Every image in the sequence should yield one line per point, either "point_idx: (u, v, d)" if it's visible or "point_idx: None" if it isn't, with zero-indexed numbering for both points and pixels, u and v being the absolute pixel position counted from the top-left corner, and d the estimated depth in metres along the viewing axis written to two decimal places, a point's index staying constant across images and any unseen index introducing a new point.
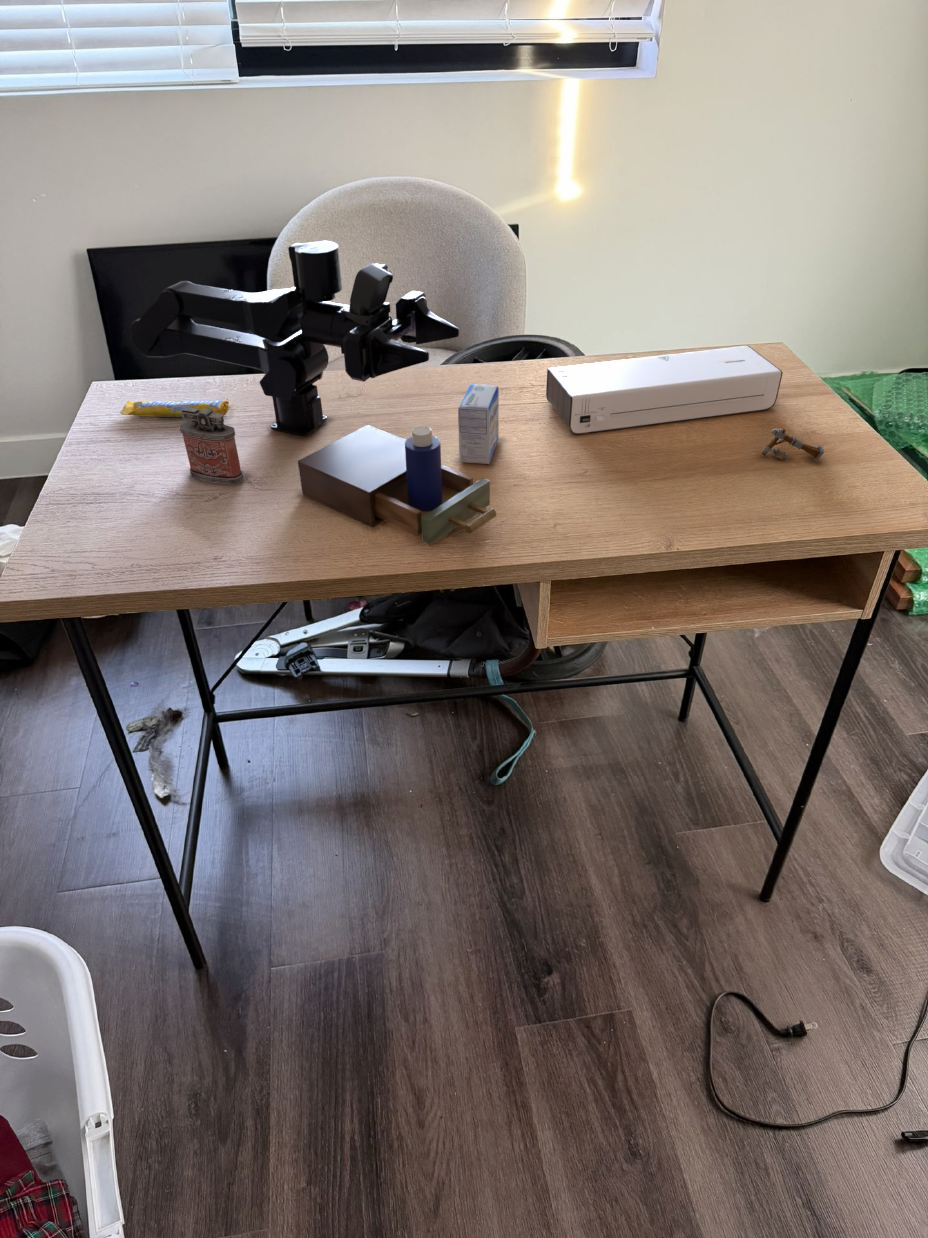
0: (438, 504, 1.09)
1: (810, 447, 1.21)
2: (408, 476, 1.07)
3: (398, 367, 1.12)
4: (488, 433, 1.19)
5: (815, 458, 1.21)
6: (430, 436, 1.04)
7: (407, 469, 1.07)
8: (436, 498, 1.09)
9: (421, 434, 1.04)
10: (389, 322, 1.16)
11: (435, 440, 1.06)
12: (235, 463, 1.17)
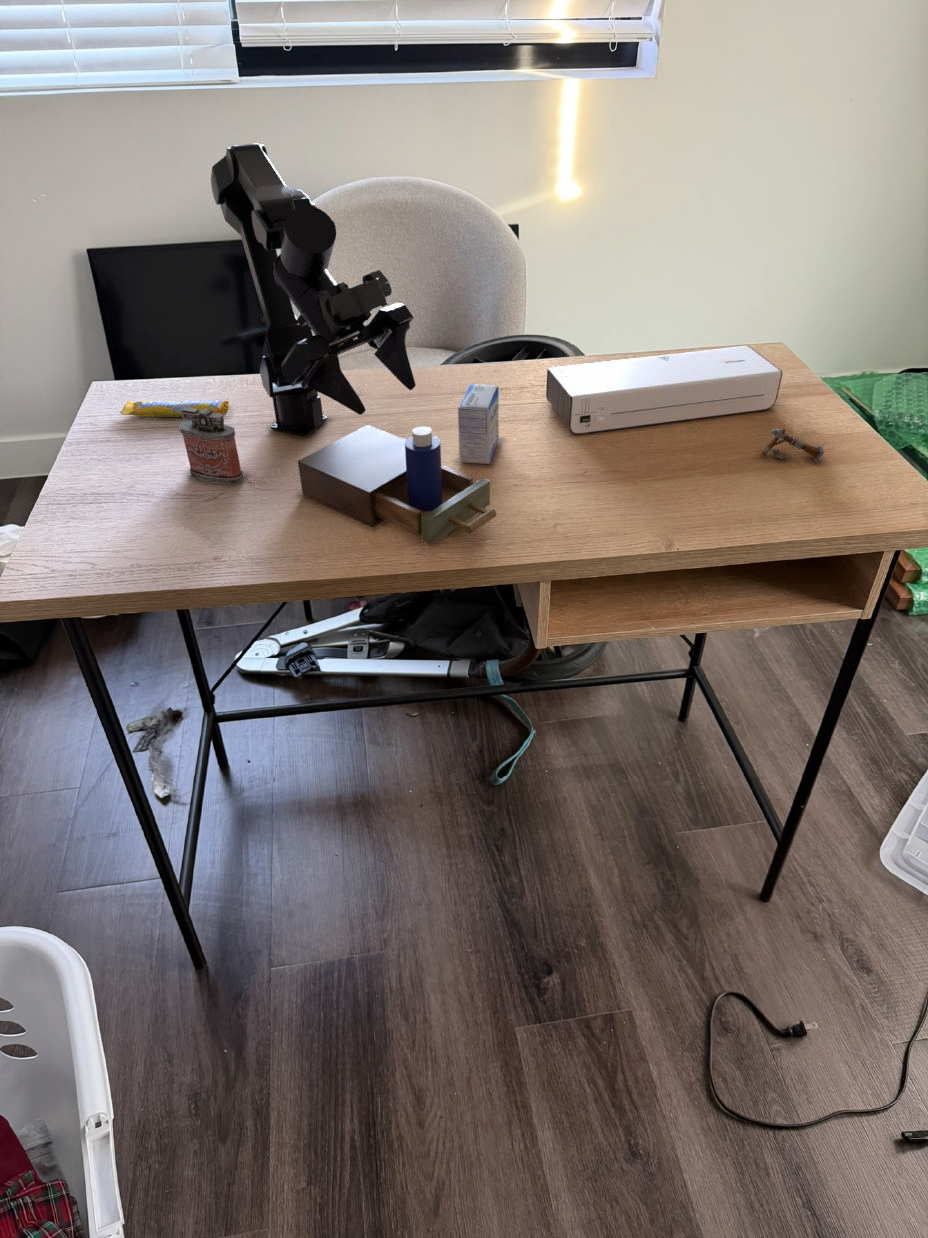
0: (438, 504, 1.09)
1: (810, 447, 1.21)
2: (408, 476, 1.07)
3: (331, 397, 1.04)
4: (488, 433, 1.19)
5: (815, 458, 1.21)
6: (430, 436, 1.04)
7: (407, 469, 1.07)
8: (436, 498, 1.09)
9: (421, 434, 1.04)
10: (357, 334, 1.05)
11: (435, 440, 1.06)
12: (235, 463, 1.17)
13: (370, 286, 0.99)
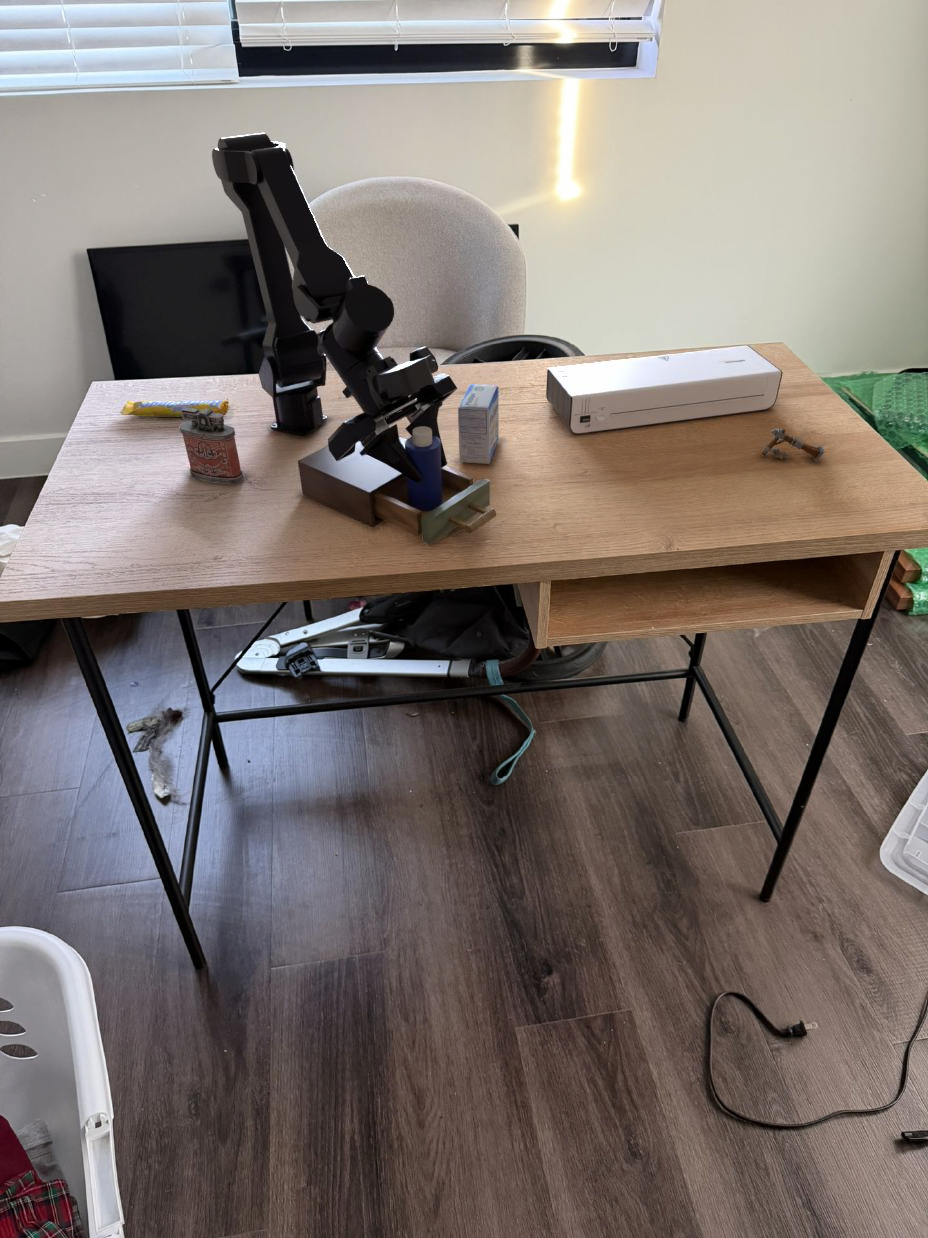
0: (438, 504, 1.09)
1: (810, 447, 1.21)
2: None
3: (389, 464, 1.06)
4: (488, 433, 1.19)
5: (815, 458, 1.21)
6: (430, 436, 1.04)
7: None
8: (436, 498, 1.09)
9: (421, 434, 1.04)
10: (402, 408, 1.06)
11: (435, 440, 1.06)
12: (235, 463, 1.17)
13: (418, 366, 1.00)
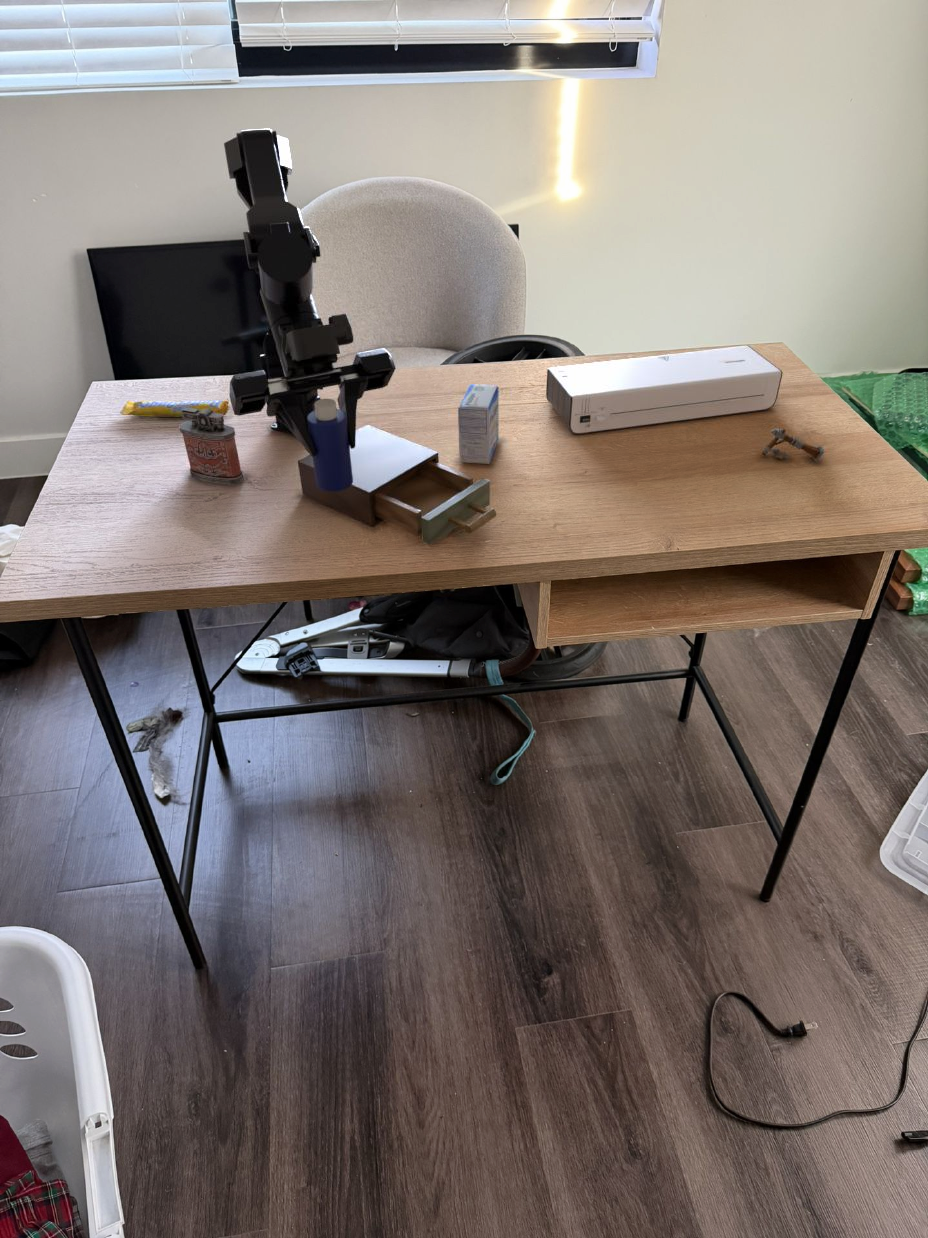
0: (340, 486, 1.01)
1: (810, 447, 1.21)
2: None
3: (292, 431, 0.99)
4: (488, 433, 1.19)
5: (815, 458, 1.21)
6: (330, 411, 0.96)
7: None
8: (336, 479, 1.00)
9: (319, 406, 0.96)
10: (319, 376, 0.98)
11: (340, 417, 0.97)
12: (235, 463, 1.17)
13: (317, 332, 0.91)
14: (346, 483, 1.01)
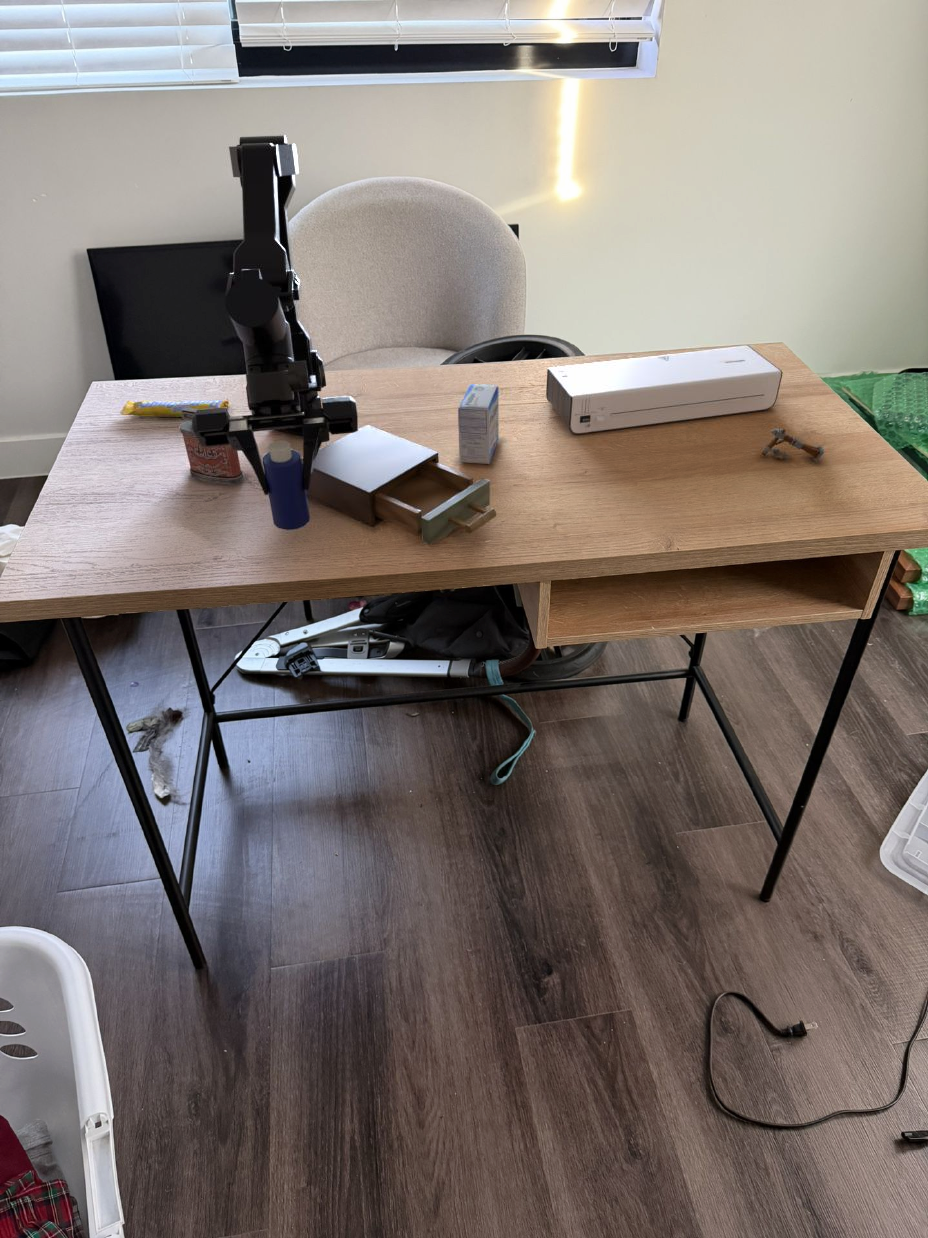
0: (292, 526, 1.03)
1: (810, 447, 1.21)
2: None
3: None
4: (488, 433, 1.19)
5: (815, 458, 1.21)
6: (282, 453, 0.98)
7: None
8: (287, 518, 1.02)
9: (272, 448, 0.98)
10: (282, 417, 1.00)
11: (293, 460, 0.99)
12: (235, 463, 1.17)
13: (269, 377, 0.93)
14: (299, 523, 1.03)
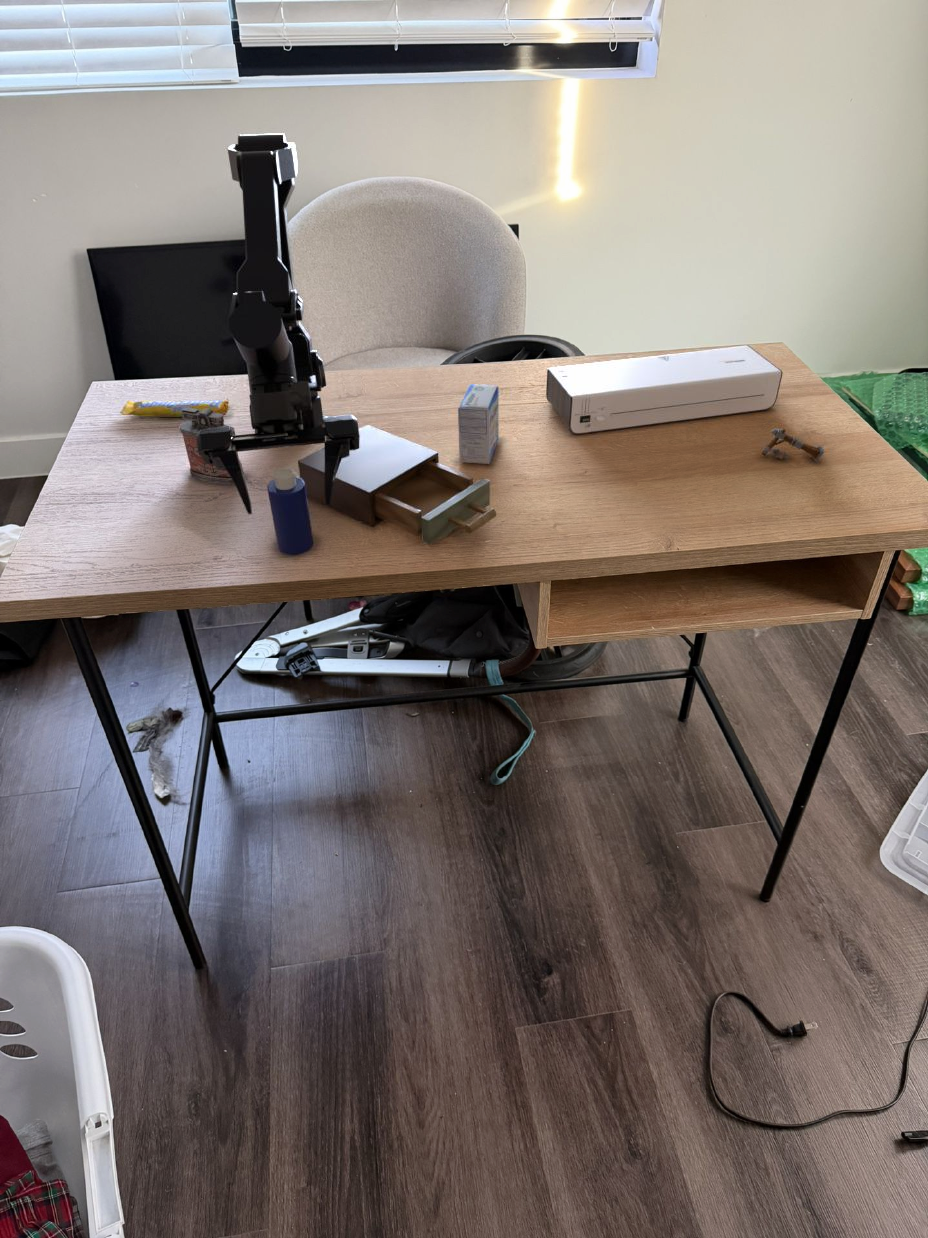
0: (296, 551, 1.05)
1: (810, 447, 1.21)
2: None
3: None
4: (488, 433, 1.19)
5: (815, 458, 1.21)
6: (286, 481, 1.00)
7: None
8: (292, 544, 1.04)
9: (277, 476, 1.00)
10: (285, 436, 1.02)
11: (298, 487, 1.01)
12: None
13: (273, 398, 0.95)
14: (303, 548, 1.05)
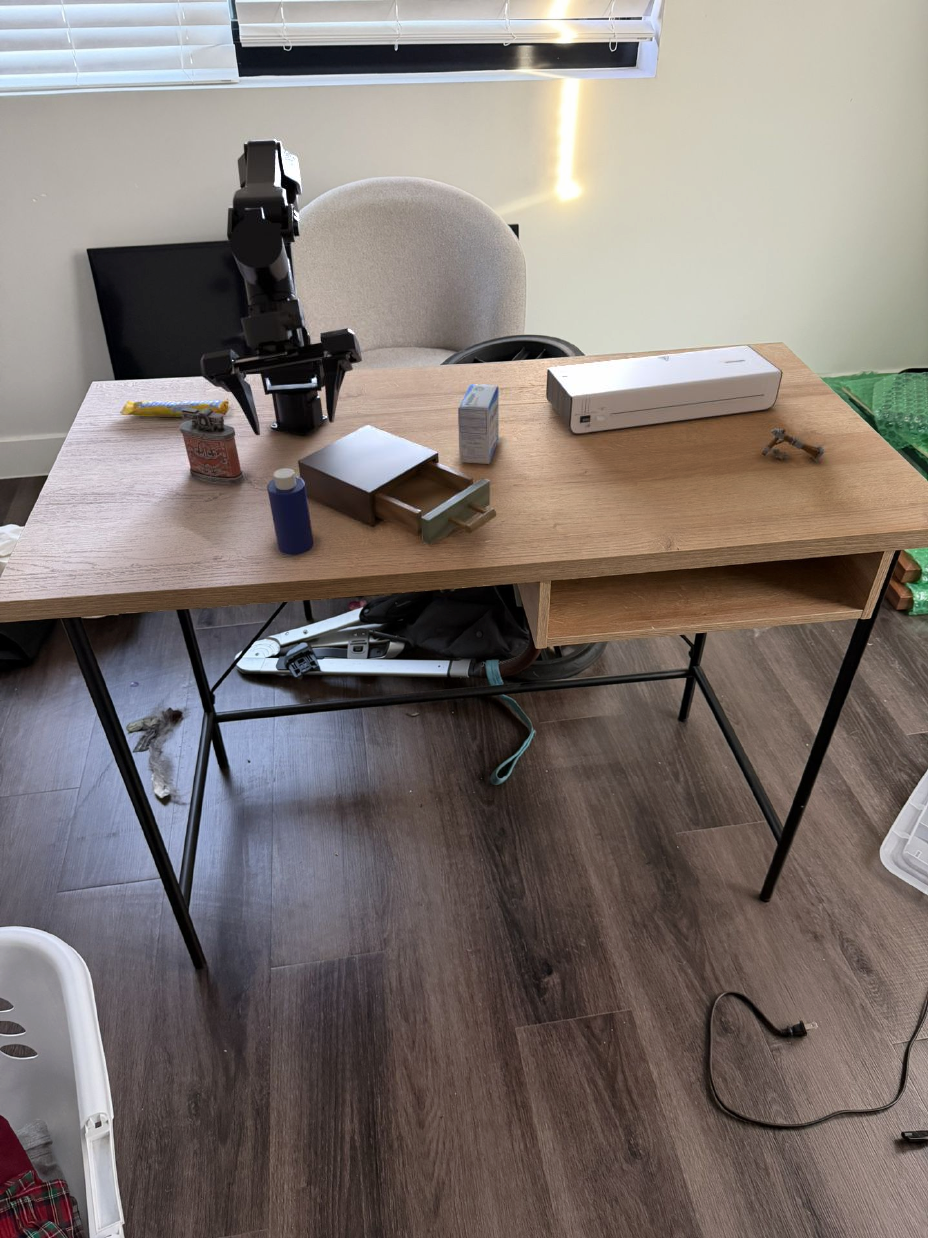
0: (296, 551, 1.05)
1: (810, 447, 1.21)
2: None
3: None
4: (488, 433, 1.19)
5: (815, 458, 1.21)
6: (286, 481, 1.00)
7: None
8: (292, 544, 1.04)
9: (277, 476, 1.00)
10: (285, 355, 1.03)
11: (298, 487, 1.01)
12: (235, 463, 1.17)
13: (262, 320, 0.96)
14: (303, 548, 1.05)
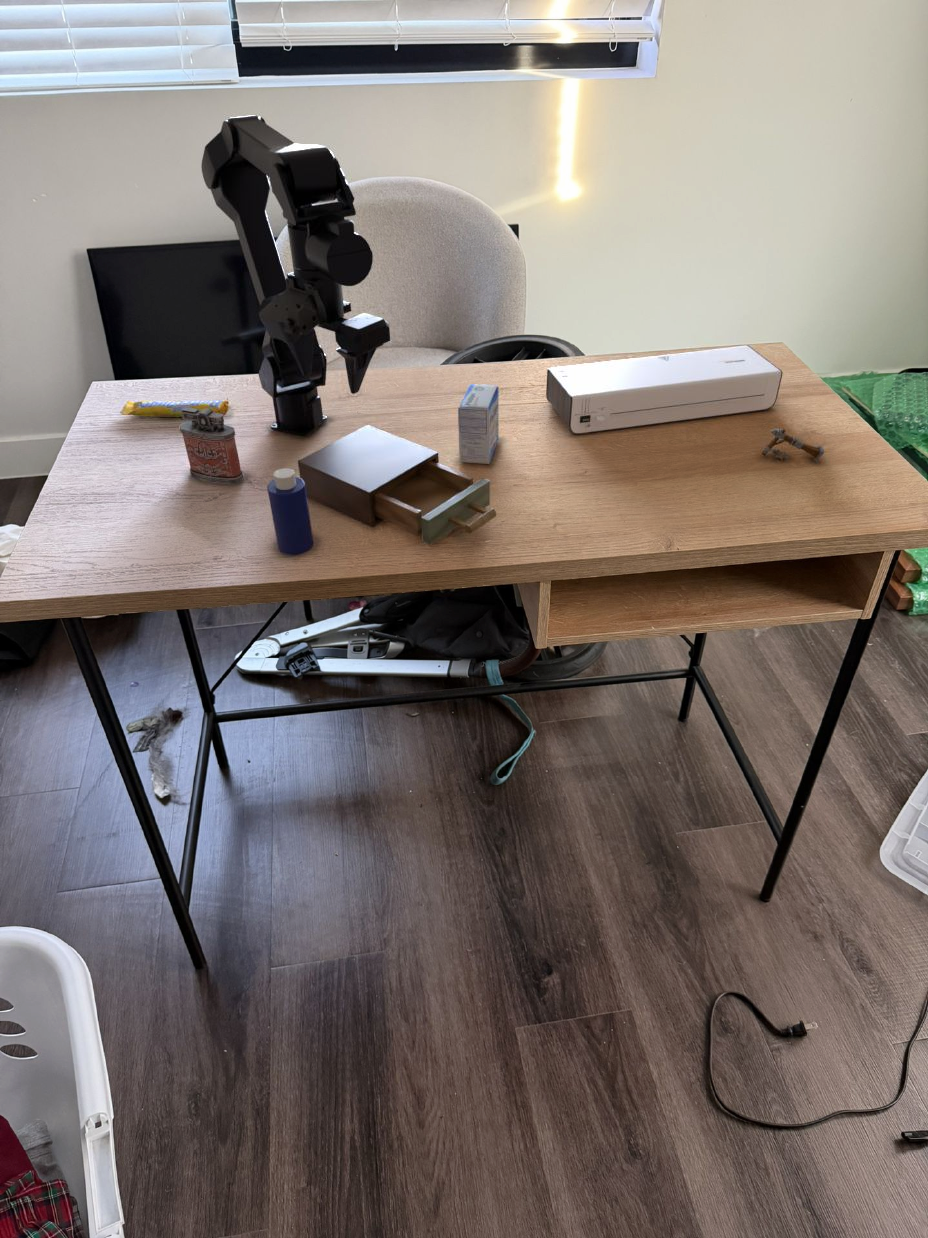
0: (296, 551, 1.05)
1: (810, 447, 1.21)
2: None
3: None
4: (488, 433, 1.19)
5: (815, 458, 1.21)
6: (286, 481, 1.00)
7: None
8: (292, 544, 1.04)
9: (277, 476, 1.00)
10: (318, 325, 1.09)
11: (298, 487, 1.01)
12: (235, 463, 1.17)
13: (271, 324, 1.04)
14: (303, 548, 1.05)
